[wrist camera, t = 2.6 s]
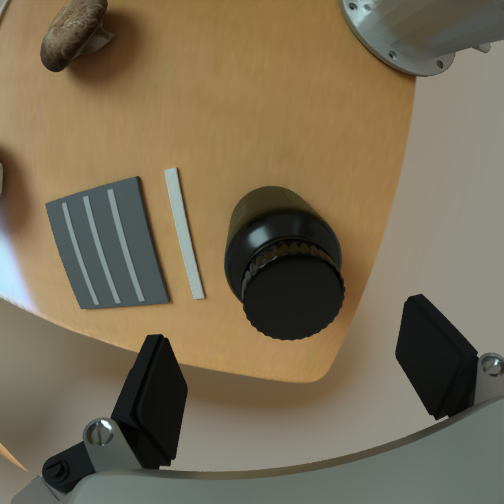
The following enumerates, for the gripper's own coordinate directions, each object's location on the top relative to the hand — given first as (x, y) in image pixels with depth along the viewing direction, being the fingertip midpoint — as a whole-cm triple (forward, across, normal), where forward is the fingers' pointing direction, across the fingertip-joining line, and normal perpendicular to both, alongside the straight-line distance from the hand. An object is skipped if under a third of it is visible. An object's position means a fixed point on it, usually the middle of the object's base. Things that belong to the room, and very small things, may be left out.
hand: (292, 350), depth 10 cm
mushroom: (+15, +13, -22) cm, 30 cm away
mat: (+15, +15, -1) cm, 21 cm away
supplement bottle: (+15, -1, -1) cm, 15 cm away
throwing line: (+15, +7, -1) cm, 16 cm away
